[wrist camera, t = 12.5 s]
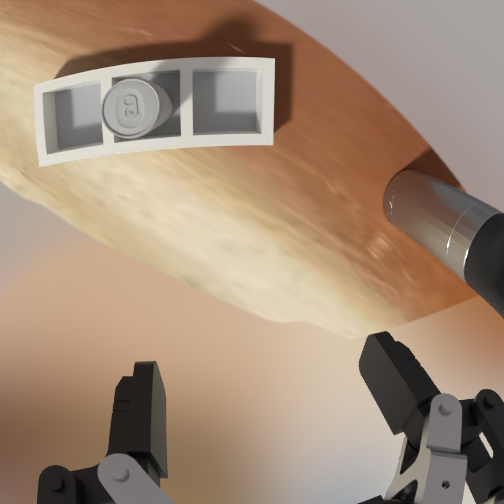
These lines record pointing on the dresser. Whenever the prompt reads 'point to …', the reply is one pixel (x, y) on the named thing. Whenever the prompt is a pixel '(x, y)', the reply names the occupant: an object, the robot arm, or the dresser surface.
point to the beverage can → (135, 107)
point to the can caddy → (182, 116)
